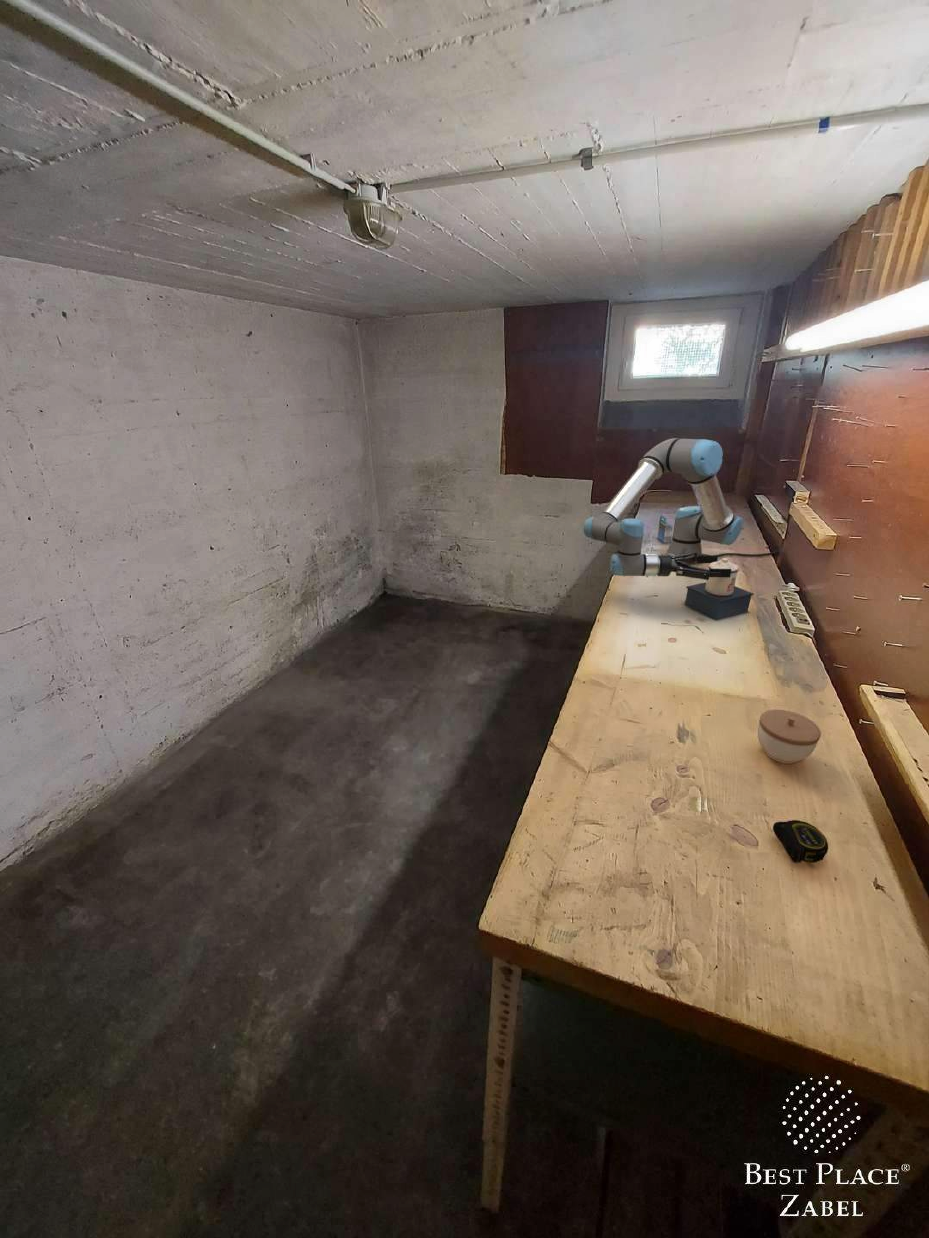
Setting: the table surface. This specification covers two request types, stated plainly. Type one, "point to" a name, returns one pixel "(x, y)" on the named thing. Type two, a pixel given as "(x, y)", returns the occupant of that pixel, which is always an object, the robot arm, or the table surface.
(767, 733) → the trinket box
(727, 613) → the storage box
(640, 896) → the table surface
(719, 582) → the teacup with lid
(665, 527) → the label tape box
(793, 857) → the tape measure
